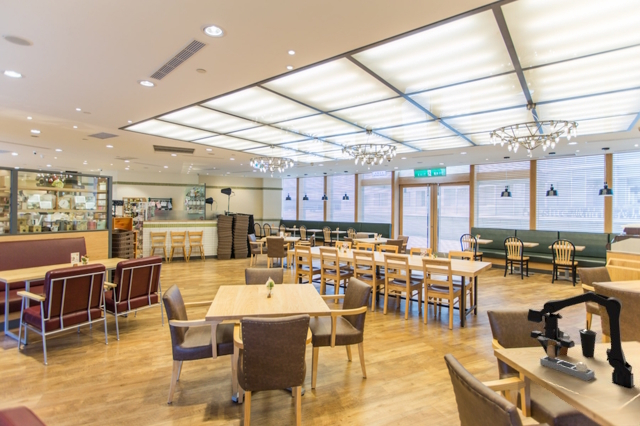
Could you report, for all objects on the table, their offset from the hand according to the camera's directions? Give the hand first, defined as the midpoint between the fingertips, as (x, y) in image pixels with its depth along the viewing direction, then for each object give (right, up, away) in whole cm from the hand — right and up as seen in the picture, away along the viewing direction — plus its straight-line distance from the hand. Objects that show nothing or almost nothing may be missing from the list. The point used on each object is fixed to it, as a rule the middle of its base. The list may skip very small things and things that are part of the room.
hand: (551, 355), depth 170 cm
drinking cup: (+30, -6, +13) cm, 33 cm away
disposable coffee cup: (+15, -6, +15) cm, 22 cm away
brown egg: (0, -1, 0) cm, 1 cm away
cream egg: (+6, -5, -12) cm, 14 cm away
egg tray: (+3, -6, -6) cm, 9 cm away
